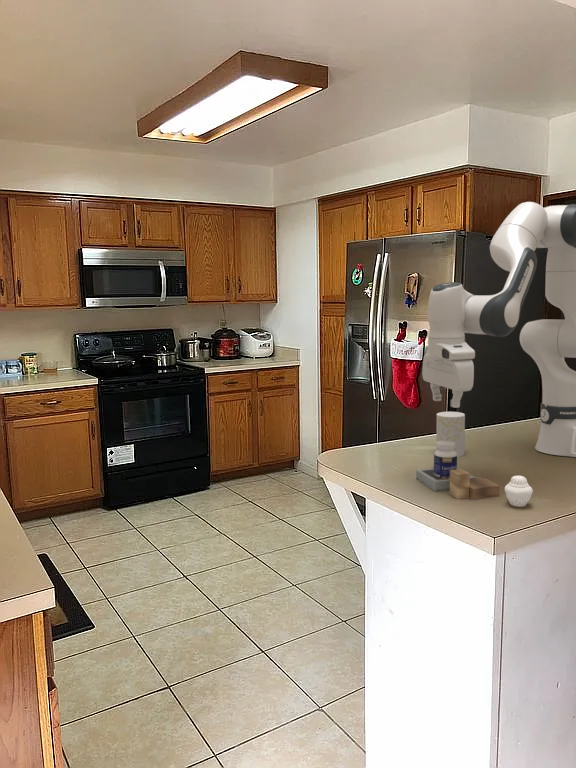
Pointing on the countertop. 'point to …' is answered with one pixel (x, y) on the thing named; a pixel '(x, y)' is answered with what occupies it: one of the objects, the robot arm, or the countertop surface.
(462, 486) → the block
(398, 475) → the countertop surface
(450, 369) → the robot arm
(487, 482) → the brown flat block
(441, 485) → the tray
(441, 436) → the cup
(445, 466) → the pill bottle
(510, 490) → the white lidded jar
